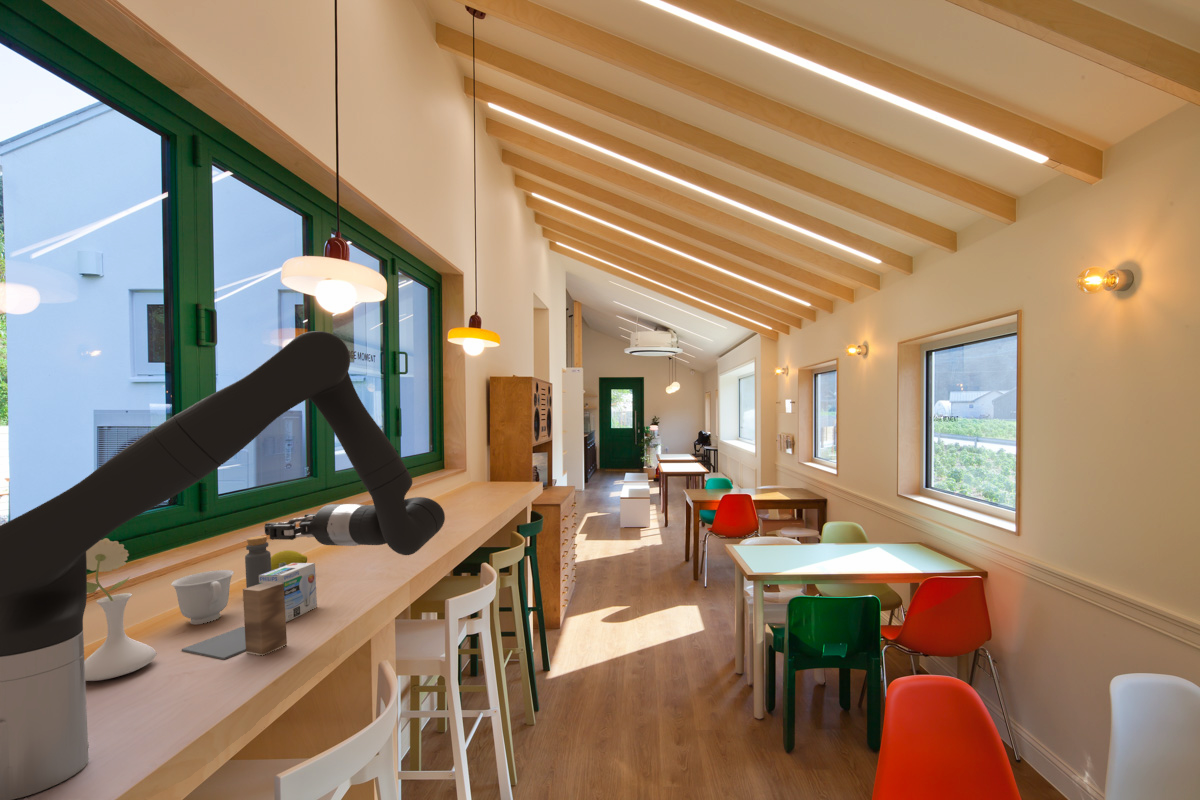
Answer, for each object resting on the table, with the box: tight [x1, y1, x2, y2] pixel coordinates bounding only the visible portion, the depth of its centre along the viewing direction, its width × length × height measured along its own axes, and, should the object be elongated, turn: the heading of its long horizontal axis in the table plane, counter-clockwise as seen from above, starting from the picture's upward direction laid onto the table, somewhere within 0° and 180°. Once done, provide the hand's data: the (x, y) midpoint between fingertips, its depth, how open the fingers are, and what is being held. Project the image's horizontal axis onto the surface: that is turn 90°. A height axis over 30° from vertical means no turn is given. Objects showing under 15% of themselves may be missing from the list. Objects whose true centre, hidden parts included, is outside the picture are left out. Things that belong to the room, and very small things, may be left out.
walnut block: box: [242, 582, 288, 657], centre depth 110 cm, size 5×5×12 cm
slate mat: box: [181, 626, 246, 661], centre depth 114 cm, size 14×12×1 cm
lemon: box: [271, 550, 308, 571], centre depth 163 cm, size 11×8×8 cm
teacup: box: [170, 569, 235, 625], centre depth 129 cm, size 12×15×10 cm
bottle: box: [244, 535, 272, 588], centre depth 149 cm, size 6×6×15 cm
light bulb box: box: [259, 562, 318, 623], centre depth 130 cm, size 11×7×11 cm, turn 168°
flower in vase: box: [84, 537, 157, 682], centre depth 103 cm, size 13×11×25 cm
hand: (287, 524), depth 109 cm, fingers open, 8 cm apart
